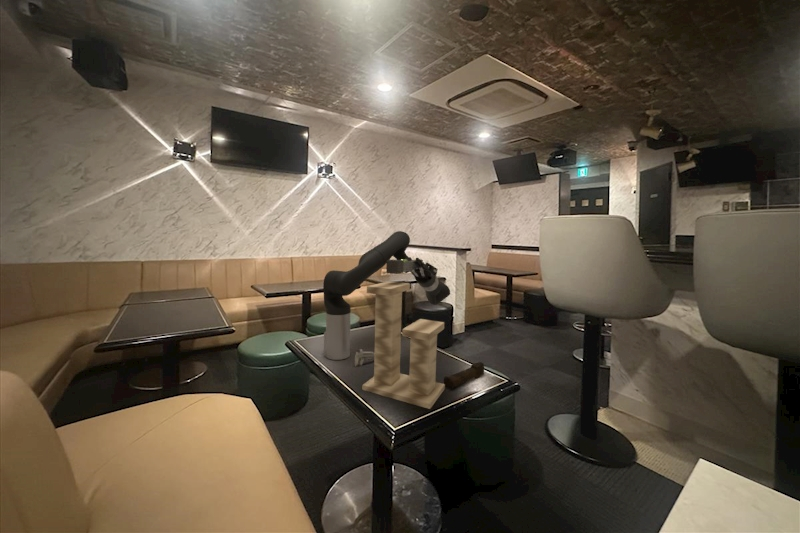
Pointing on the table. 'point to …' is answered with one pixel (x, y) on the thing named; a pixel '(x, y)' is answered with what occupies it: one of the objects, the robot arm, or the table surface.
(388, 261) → the spirit level
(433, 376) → the stand
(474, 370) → the dark brown bar
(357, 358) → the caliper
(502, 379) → the table surface
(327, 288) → the robot arm
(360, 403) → the table surface
